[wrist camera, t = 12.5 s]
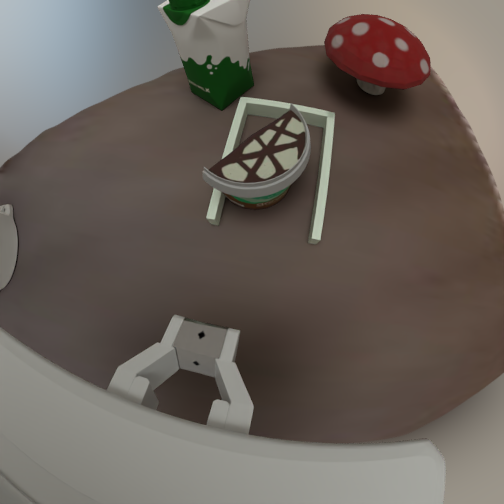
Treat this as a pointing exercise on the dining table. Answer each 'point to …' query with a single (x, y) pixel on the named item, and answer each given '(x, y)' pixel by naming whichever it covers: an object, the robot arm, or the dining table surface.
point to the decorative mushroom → (377, 53)
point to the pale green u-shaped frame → (275, 111)
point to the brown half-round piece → (264, 163)
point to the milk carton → (212, 46)
